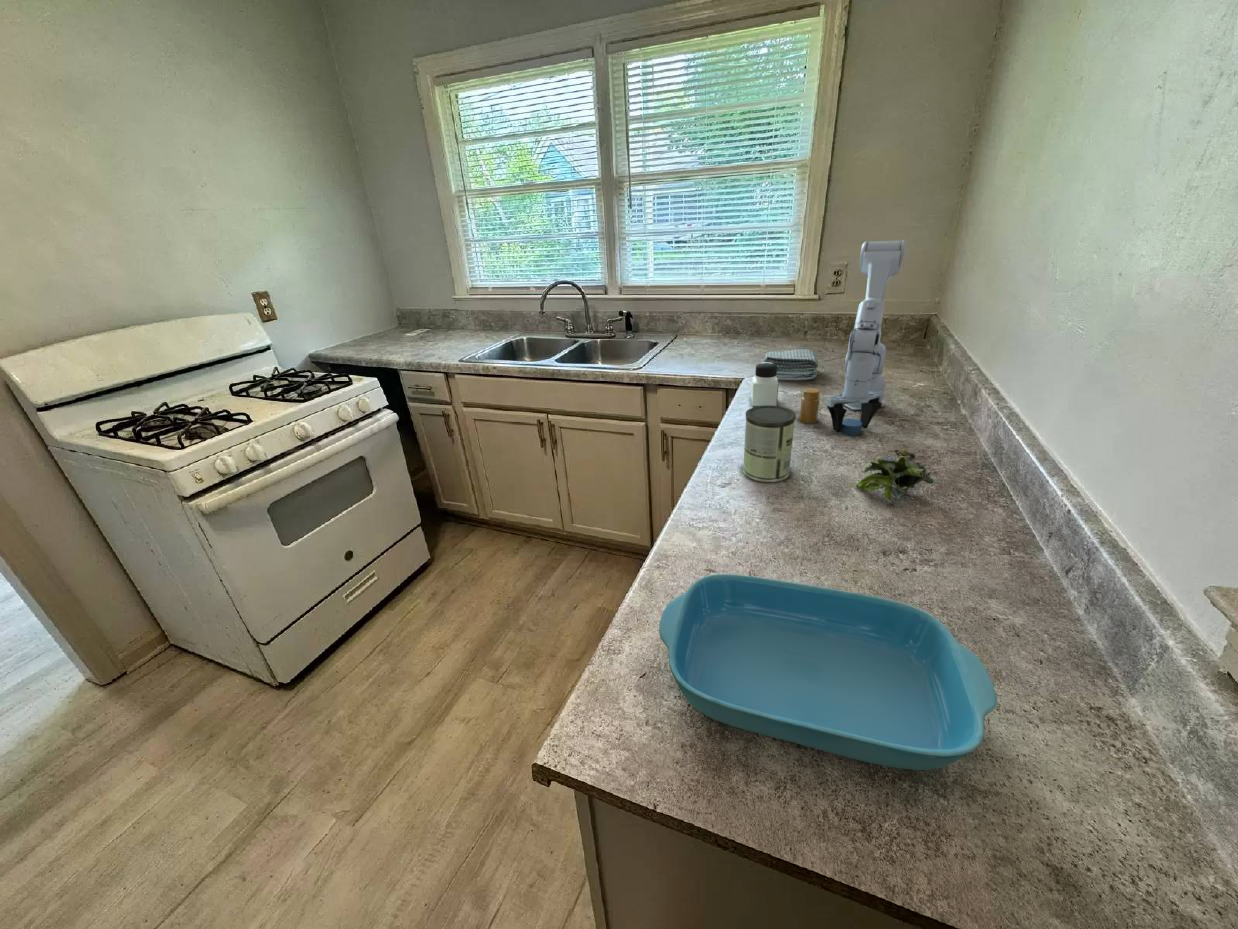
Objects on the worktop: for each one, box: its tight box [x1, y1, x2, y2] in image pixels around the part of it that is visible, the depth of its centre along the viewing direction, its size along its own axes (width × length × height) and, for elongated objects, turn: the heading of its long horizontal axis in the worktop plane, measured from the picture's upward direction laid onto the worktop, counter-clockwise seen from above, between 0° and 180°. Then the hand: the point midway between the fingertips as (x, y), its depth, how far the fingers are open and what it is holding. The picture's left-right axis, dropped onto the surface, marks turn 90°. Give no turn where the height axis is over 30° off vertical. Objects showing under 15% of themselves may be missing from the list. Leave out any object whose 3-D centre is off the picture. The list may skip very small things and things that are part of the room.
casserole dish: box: [658, 573, 998, 771], centre depth 60 cm, size 37×22×7 cm, turn 72°
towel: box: [761, 348, 819, 382], centre depth 171 cm, size 15×18×8 cm
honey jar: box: [798, 387, 821, 424], centre depth 134 cm, size 5×5×9 cm
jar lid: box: [839, 418, 863, 436], centre depth 127 cm, size 5×5×2 cm
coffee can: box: [742, 405, 797, 483], centre depth 108 cm, size 10×10×14 cm
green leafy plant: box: [856, 449, 935, 506], centre depth 98 cm, size 11×11×12 cm
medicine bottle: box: [750, 361, 779, 407], centre depth 147 cm, size 7×7×12 cm
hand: (850, 429), depth 128 cm, fingers open, 7 cm apart
